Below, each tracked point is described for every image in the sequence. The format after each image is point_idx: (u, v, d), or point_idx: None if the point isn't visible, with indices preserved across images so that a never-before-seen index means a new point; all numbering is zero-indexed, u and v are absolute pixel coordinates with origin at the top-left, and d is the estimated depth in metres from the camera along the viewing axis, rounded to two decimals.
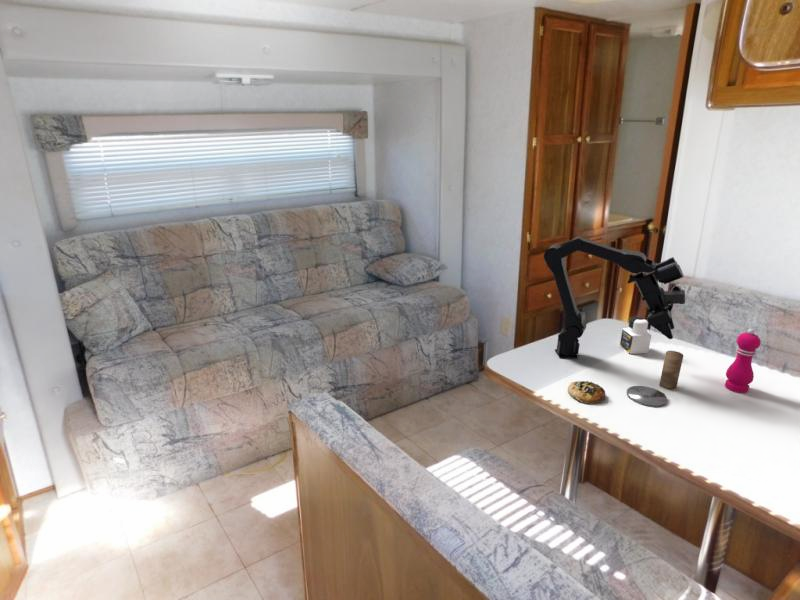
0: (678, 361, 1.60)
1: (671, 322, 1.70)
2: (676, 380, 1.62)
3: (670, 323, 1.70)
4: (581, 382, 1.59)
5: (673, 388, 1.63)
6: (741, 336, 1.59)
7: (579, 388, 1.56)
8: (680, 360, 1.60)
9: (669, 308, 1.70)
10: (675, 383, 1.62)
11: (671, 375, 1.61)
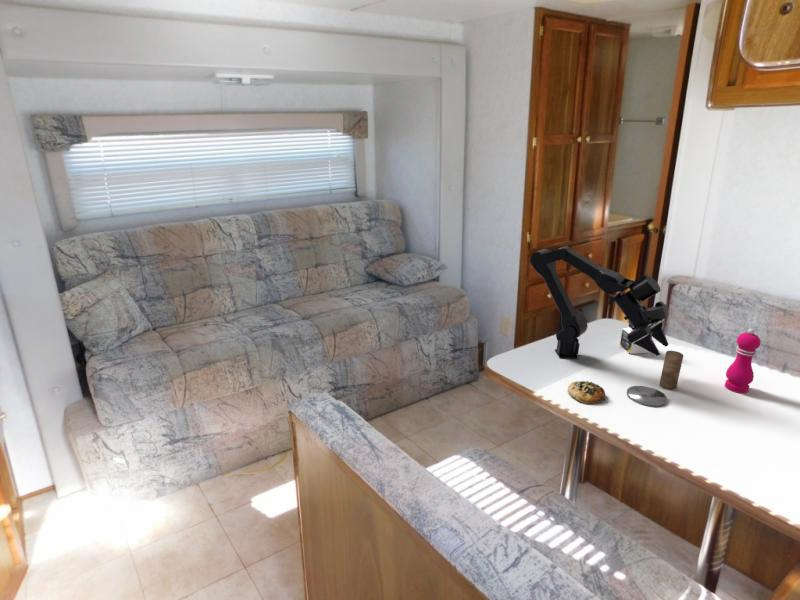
0: (678, 361, 1.60)
1: (664, 339, 1.67)
2: (676, 380, 1.62)
3: (663, 340, 1.67)
4: (581, 382, 1.59)
5: (673, 388, 1.63)
6: (741, 336, 1.59)
7: (579, 388, 1.56)
8: (680, 360, 1.60)
9: (659, 325, 1.67)
10: (675, 383, 1.62)
11: (671, 375, 1.61)
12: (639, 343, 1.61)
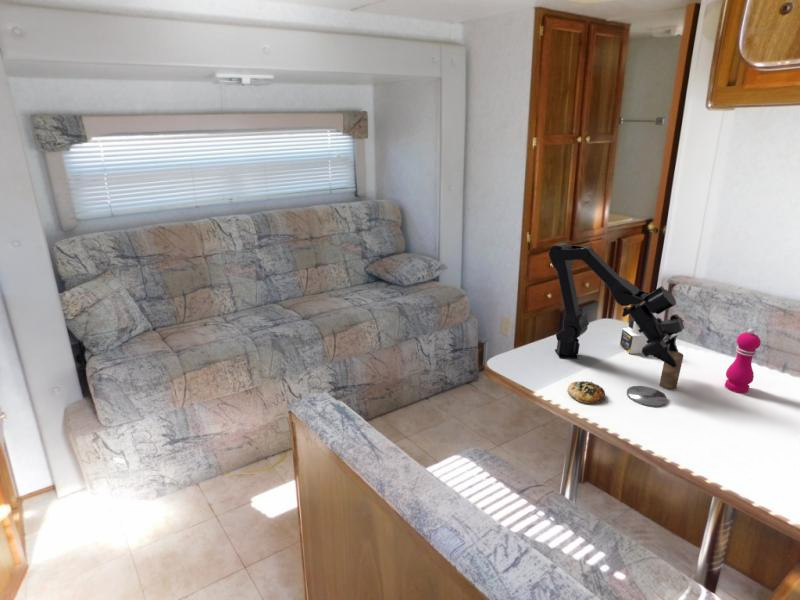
0: (678, 361, 1.60)
1: None
2: (676, 380, 1.62)
3: None
4: (581, 382, 1.59)
5: (673, 388, 1.63)
6: (741, 336, 1.59)
7: (579, 388, 1.56)
8: (680, 360, 1.60)
9: (672, 340, 1.64)
10: (675, 383, 1.62)
11: (671, 375, 1.61)
12: (656, 354, 1.61)
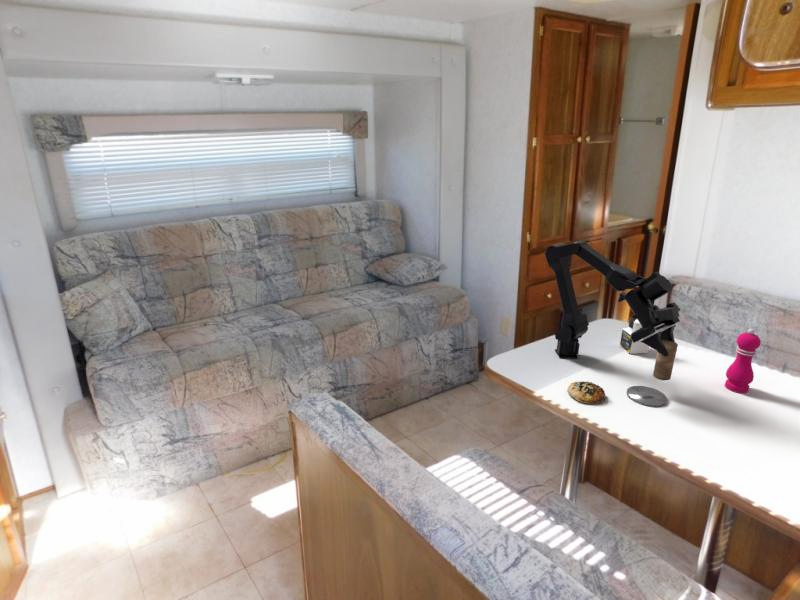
0: (671, 351, 1.54)
1: None
2: (669, 370, 1.56)
3: None
4: (581, 382, 1.59)
5: (665, 379, 1.57)
6: (741, 336, 1.59)
7: (579, 388, 1.56)
8: (673, 350, 1.54)
9: (668, 329, 1.58)
10: (668, 374, 1.56)
11: (663, 365, 1.56)
12: (647, 342, 1.56)
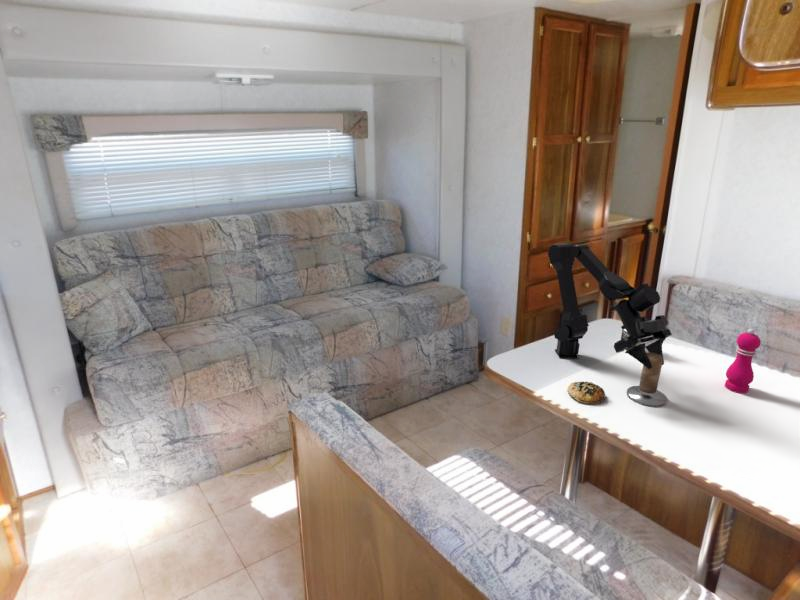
0: (655, 363, 1.52)
1: None
2: (653, 383, 1.54)
3: None
4: (581, 383, 1.59)
5: (650, 391, 1.55)
6: (741, 336, 1.59)
7: (579, 389, 1.56)
8: (657, 362, 1.52)
9: (657, 342, 1.56)
10: (652, 386, 1.54)
11: (647, 377, 1.54)
12: (632, 353, 1.55)
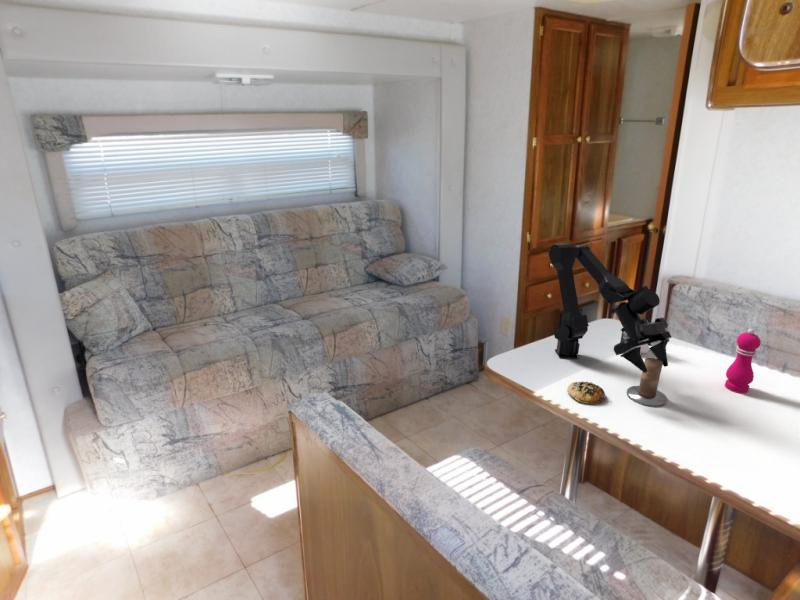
0: (654, 369, 1.52)
1: (664, 358, 1.56)
2: (652, 389, 1.55)
3: (663, 360, 1.56)
4: (581, 383, 1.59)
5: (649, 397, 1.56)
6: (741, 336, 1.59)
7: (579, 389, 1.56)
8: (656, 368, 1.52)
9: (661, 343, 1.57)
10: (651, 392, 1.55)
11: (646, 382, 1.55)
12: (627, 357, 1.54)
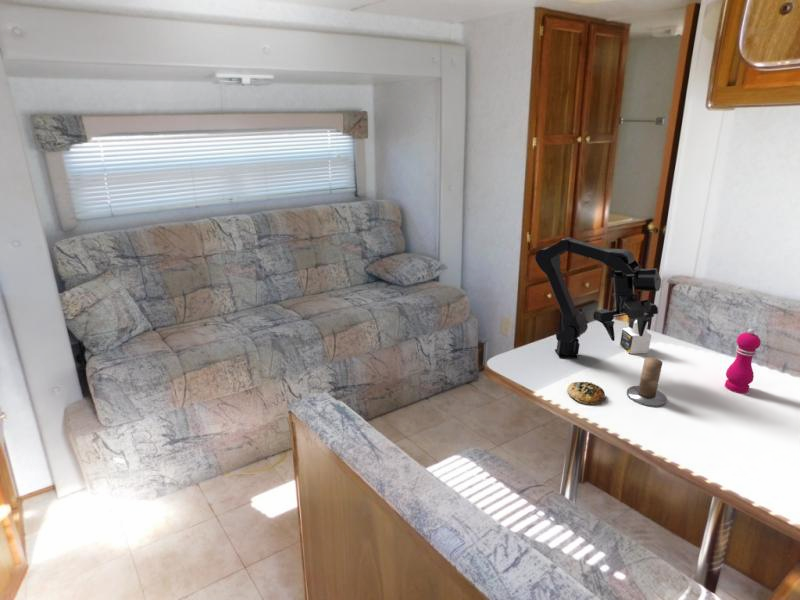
0: (654, 369, 1.53)
1: (641, 330, 1.68)
2: (652, 389, 1.55)
3: (640, 330, 1.69)
4: (581, 383, 1.59)
5: (649, 397, 1.56)
6: (741, 336, 1.59)
7: (578, 389, 1.56)
8: (656, 368, 1.52)
9: (644, 317, 1.67)
10: (651, 392, 1.55)
11: (646, 382, 1.55)
12: (603, 322, 1.69)
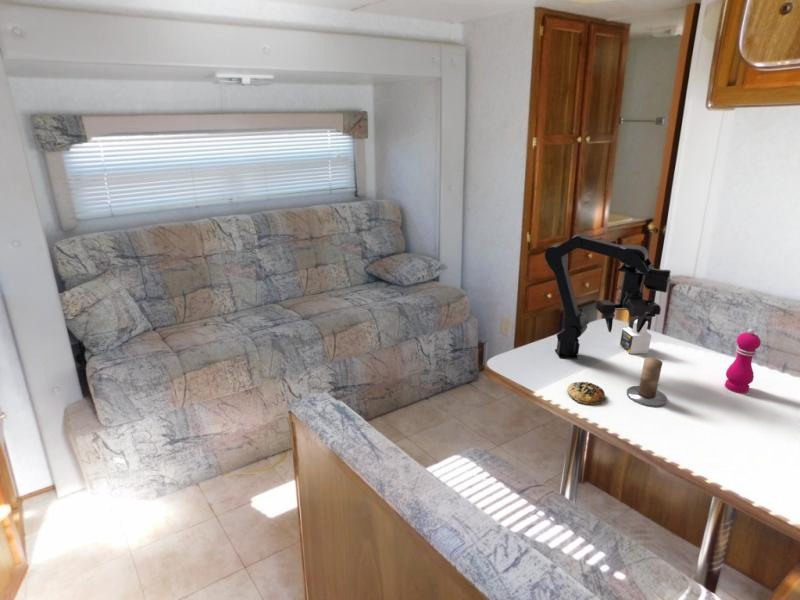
0: (654, 369, 1.53)
1: (639, 326, 1.71)
2: (652, 389, 1.55)
3: (638, 326, 1.71)
4: (580, 383, 1.58)
5: (649, 397, 1.56)
6: (741, 336, 1.59)
7: (578, 389, 1.56)
8: (656, 368, 1.52)
9: (645, 315, 1.68)
10: (651, 392, 1.55)
11: (646, 382, 1.55)
12: None
